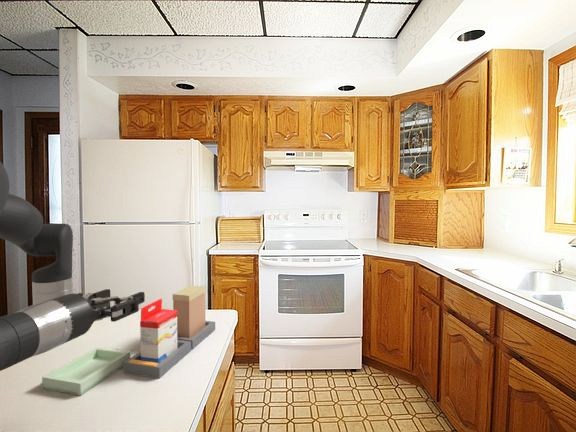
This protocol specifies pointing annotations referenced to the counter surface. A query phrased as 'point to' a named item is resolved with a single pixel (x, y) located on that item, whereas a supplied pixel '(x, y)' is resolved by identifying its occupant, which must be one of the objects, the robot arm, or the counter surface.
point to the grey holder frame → (183, 348)
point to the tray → (85, 371)
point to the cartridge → (190, 310)
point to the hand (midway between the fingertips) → (125, 295)
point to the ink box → (157, 332)
